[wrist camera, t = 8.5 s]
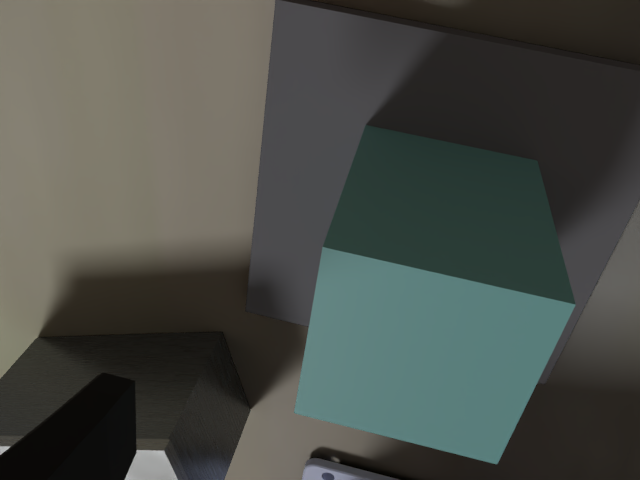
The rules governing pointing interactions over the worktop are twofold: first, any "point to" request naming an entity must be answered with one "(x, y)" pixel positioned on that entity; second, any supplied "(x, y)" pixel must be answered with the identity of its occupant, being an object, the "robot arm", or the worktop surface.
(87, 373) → the control box
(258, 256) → the mat
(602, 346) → the worktop surface
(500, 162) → the teal block
